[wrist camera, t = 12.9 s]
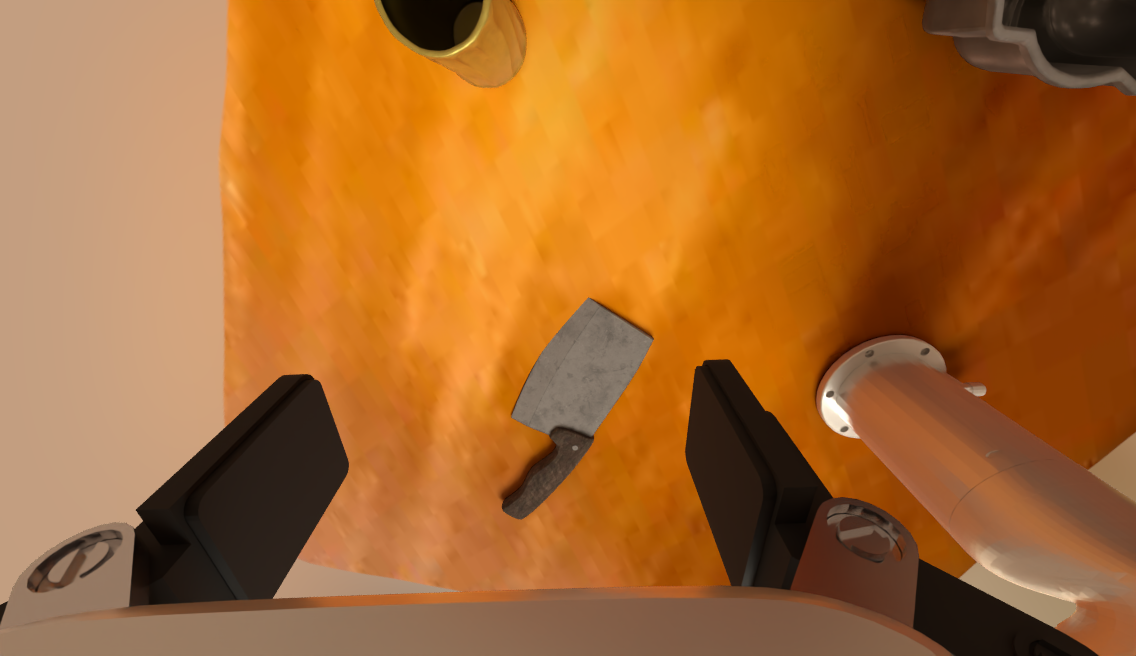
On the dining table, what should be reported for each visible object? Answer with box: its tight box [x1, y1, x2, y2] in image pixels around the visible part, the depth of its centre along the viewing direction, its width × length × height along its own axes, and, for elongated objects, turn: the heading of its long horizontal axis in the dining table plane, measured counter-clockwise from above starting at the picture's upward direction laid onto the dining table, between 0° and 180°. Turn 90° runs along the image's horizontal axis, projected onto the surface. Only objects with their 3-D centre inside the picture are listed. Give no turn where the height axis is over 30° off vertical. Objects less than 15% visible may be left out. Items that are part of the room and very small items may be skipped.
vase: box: [374, 0, 526, 88], centre depth 24 cm, size 6×6×14 cm
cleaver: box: [502, 297, 654, 519], centre depth 46 cm, size 29×10×2 cm, turn 154°
